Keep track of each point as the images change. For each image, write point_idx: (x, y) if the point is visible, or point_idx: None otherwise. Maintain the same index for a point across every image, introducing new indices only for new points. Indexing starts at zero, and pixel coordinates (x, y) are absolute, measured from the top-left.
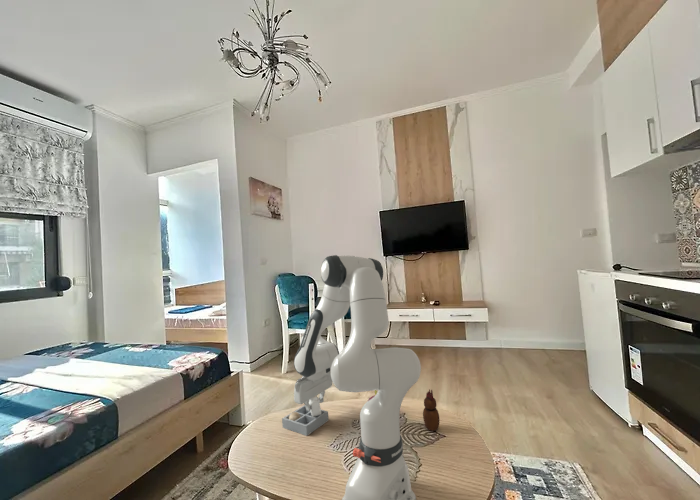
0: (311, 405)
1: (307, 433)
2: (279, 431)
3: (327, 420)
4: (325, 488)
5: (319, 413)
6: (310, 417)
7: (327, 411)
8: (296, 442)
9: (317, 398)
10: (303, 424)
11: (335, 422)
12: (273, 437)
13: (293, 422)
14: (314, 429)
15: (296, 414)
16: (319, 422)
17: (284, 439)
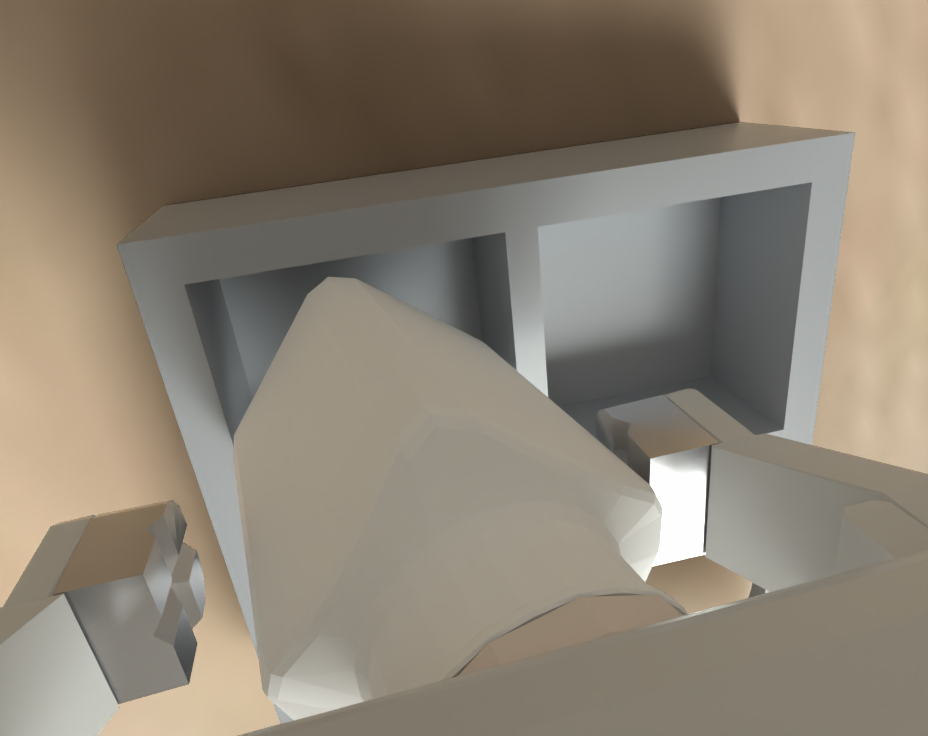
0: (622, 465)
1: (739, 126)
2: None
3: (196, 201)
4: None
5: (376, 289)
6: (541, 359)
7: (128, 253)
8: (920, 112)
9: (381, 578)
10: (818, 234)
11: (105, 6)
12: (907, 449)
13: (807, 436)
14: (565, 150)
15: (703, 559)
16: (439, 178)
17: (906, 313)
